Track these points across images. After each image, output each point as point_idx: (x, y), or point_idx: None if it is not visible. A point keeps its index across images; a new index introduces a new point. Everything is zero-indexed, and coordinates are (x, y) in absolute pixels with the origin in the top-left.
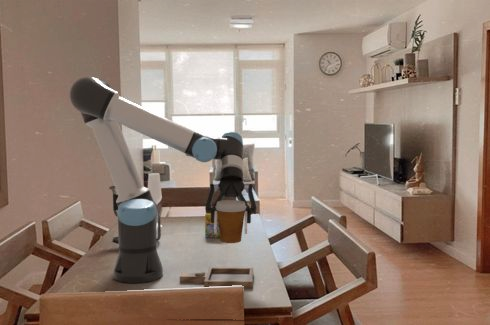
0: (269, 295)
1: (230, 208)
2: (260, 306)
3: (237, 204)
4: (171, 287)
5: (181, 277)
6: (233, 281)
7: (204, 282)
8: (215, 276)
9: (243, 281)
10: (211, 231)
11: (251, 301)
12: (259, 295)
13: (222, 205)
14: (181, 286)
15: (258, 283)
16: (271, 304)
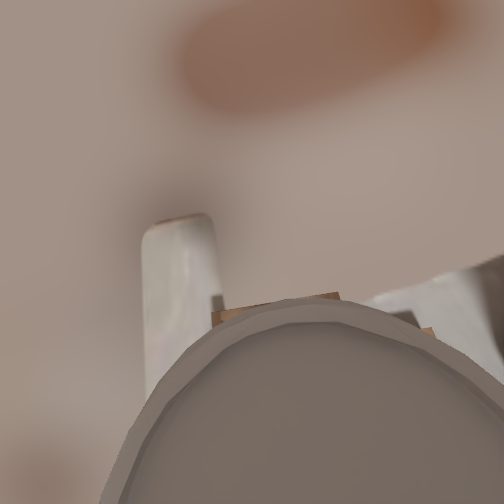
0: (173, 277)
1: (278, 307)
2: (190, 218)
3: (196, 371)
4: (419, 286)
5: (424, 328)
6: (260, 305)
7: (336, 292)
8: None
9: (233, 310)
10: None
11: (208, 237)
12: (195, 273)
13: (394, 321)
14: (398, 298)
15: None
16: (169, 231)
